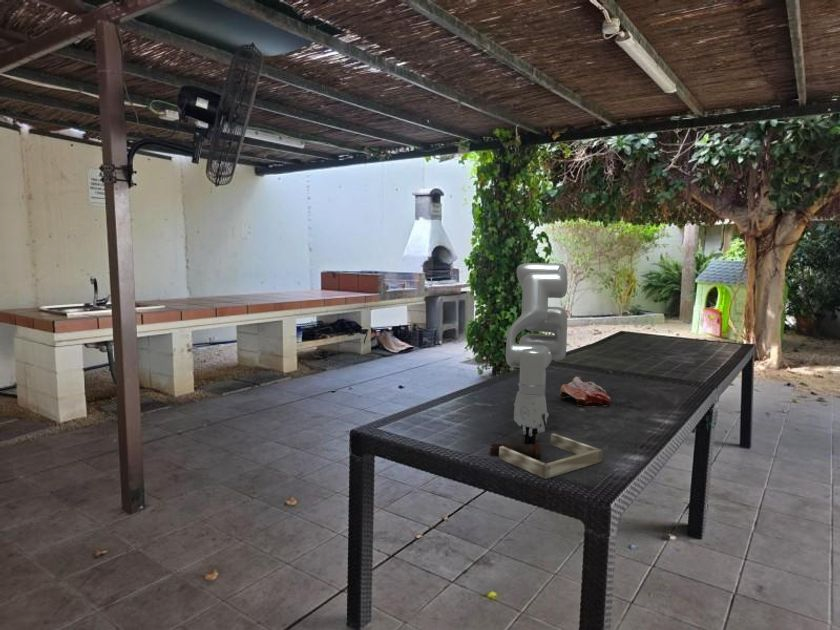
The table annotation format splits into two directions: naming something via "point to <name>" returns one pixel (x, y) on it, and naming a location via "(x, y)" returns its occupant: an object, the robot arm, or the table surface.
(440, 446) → the table surface
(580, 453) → the bay
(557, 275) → the robot arm
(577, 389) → the meat
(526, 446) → the bolt
